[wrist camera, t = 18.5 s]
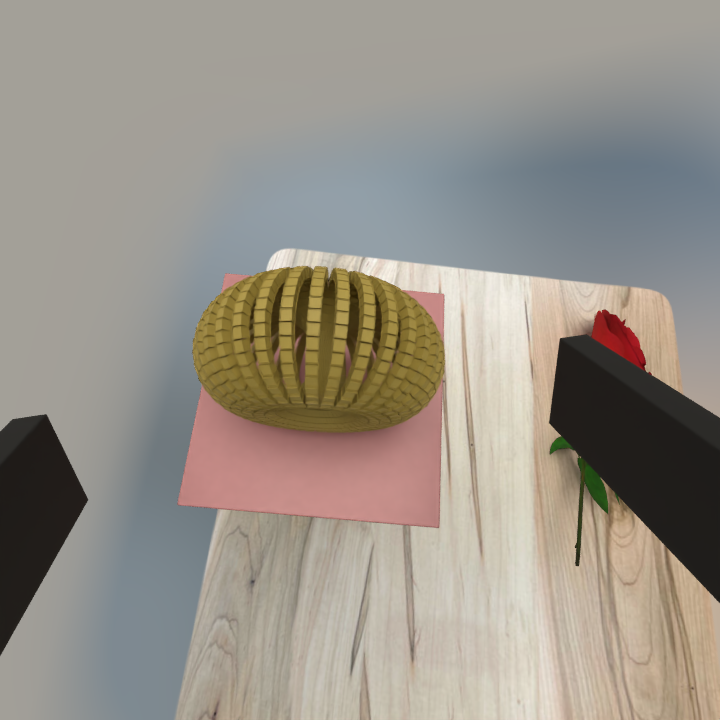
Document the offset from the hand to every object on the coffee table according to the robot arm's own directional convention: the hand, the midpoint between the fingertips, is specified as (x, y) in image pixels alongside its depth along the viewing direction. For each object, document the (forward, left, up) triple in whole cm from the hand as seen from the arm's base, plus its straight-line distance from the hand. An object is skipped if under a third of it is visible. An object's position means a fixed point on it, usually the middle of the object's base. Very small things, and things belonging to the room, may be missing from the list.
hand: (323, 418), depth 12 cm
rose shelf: (-1, +2, -7) cm, 8 cm away
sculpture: (0, +2, -6) cm, 7 cm away
